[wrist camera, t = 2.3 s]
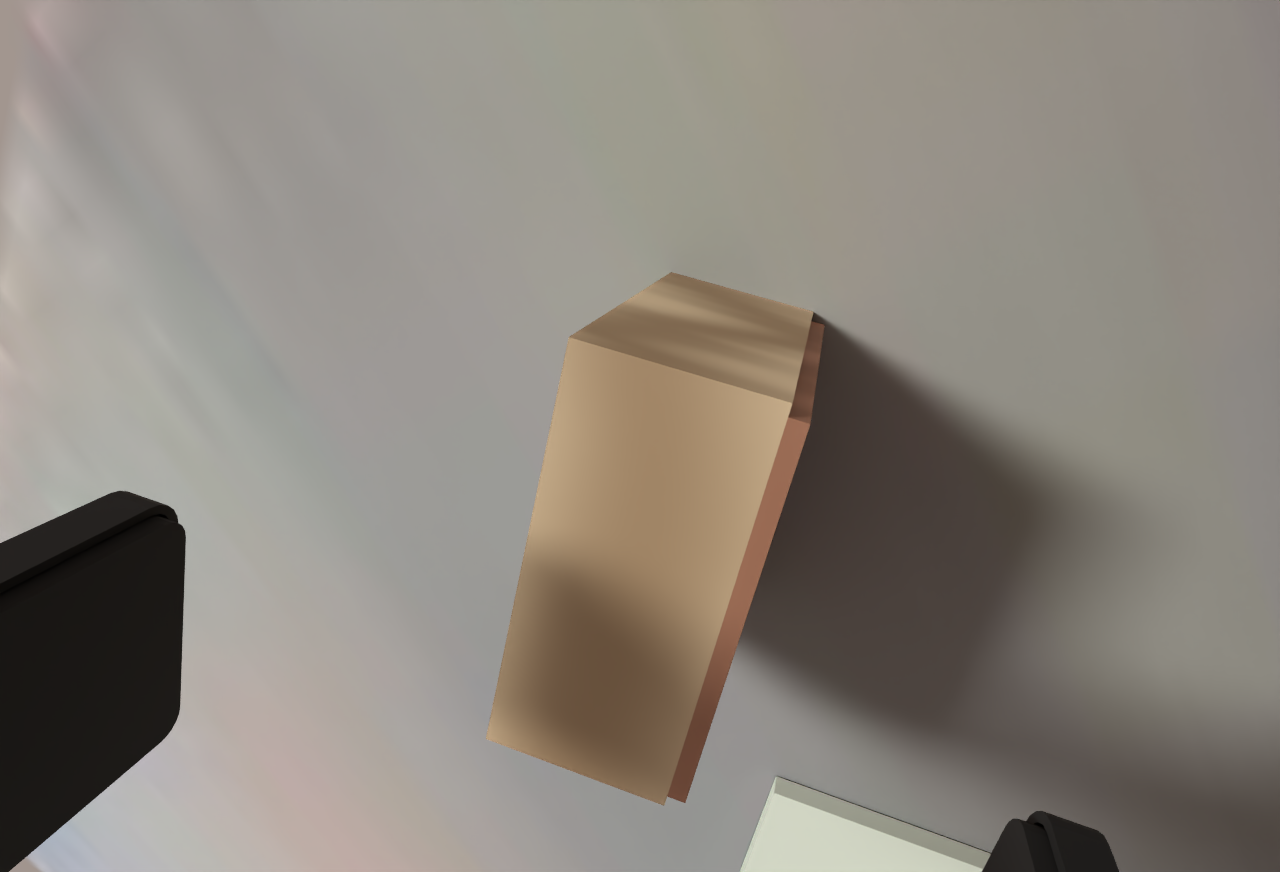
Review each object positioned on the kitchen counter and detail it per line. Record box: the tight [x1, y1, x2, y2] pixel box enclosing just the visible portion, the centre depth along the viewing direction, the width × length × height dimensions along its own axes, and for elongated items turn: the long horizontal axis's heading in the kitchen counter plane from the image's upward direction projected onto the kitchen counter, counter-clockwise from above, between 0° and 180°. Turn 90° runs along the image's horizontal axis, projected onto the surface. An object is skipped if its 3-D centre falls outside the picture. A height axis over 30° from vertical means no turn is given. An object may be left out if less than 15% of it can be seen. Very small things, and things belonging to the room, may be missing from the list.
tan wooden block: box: [486, 272, 825, 805], centre depth 15 cm, size 3×7×7 cm, turn 166°
